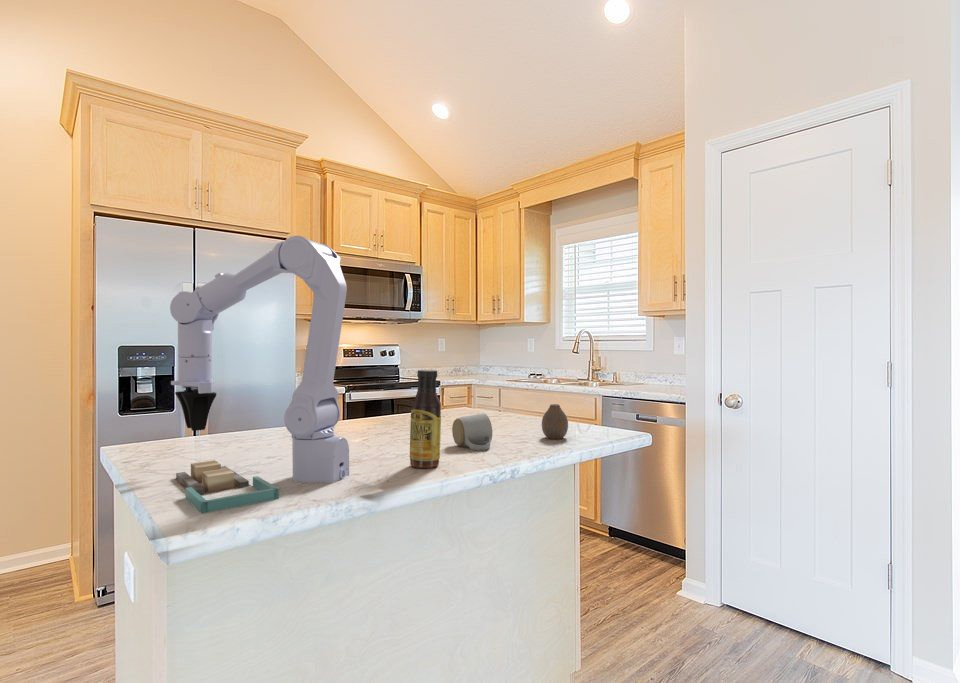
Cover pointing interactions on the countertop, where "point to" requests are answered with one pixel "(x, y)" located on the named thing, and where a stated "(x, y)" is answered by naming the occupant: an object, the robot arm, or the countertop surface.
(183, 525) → the countertop surface
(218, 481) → the tan wooden block
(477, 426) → the ceramic mug
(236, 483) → the slot track
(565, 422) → the vase
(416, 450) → the sauce bottle
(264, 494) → the teal u-shaped rail
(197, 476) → the chip
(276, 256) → the robot arm
